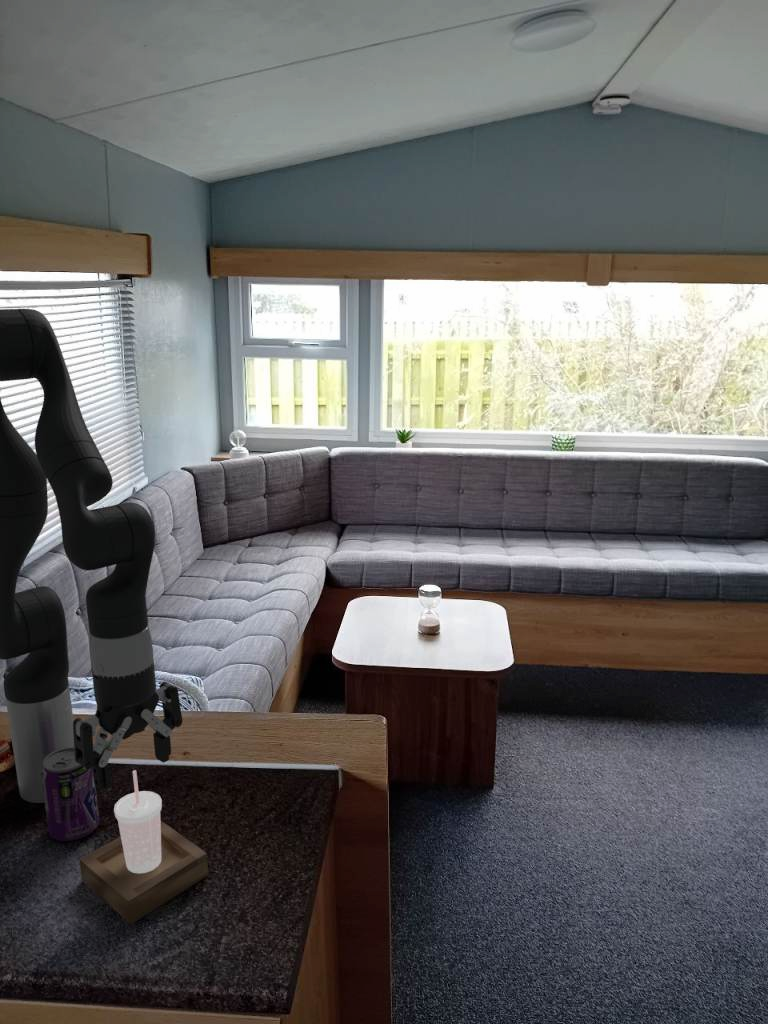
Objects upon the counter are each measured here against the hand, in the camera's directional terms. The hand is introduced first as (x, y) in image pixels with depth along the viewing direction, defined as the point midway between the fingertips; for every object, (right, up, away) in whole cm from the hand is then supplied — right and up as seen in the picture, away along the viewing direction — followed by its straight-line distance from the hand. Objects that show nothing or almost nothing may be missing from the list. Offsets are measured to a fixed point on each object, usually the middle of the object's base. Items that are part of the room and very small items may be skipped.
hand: (134, 773), depth 111 cm
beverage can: (-13, -13, +15) cm, 24 cm away
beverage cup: (0, -13, +4) cm, 14 cm away
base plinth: (0, -16, +4) cm, 16 cm away
